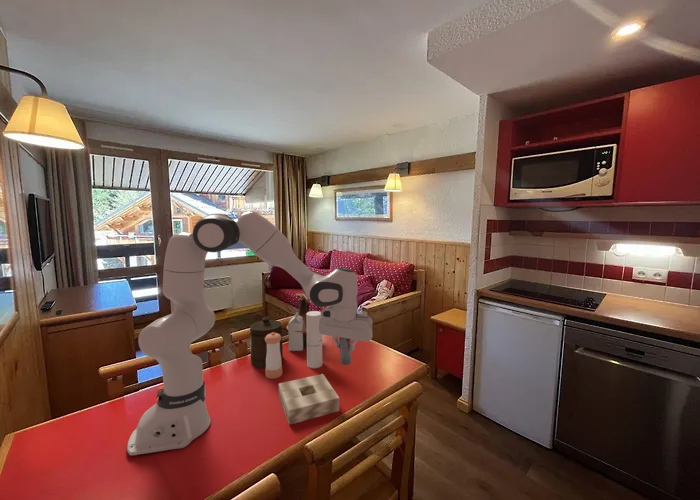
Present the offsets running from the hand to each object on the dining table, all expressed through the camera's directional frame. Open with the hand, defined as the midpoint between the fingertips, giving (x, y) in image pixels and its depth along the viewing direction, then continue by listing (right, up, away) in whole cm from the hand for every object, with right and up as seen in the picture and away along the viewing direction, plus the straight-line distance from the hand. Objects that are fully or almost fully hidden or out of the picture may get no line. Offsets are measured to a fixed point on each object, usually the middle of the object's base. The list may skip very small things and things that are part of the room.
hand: (345, 348), depth 109 cm
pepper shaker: (-32, -19, +22) cm, 43 cm away
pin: (0, -5, 0) cm, 5 cm away
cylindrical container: (-15, -18, +30) cm, 38 cm away
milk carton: (-26, -16, +48) cm, 57 cm away
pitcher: (-24, -15, +52) cm, 59 cm away
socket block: (-14, -21, +1) cm, 25 cm away
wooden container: (-38, -18, +34) cm, 54 cm away
